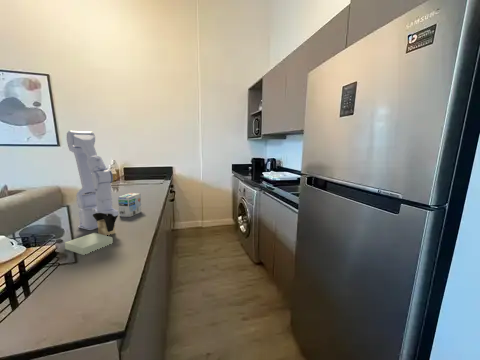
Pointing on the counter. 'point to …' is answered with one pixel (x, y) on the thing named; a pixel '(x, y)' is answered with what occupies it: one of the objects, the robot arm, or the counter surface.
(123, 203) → the light bulb box
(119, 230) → the counter surface
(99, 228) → the birch block
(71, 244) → the sage box
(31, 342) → the counter surface
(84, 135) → the robot arm
